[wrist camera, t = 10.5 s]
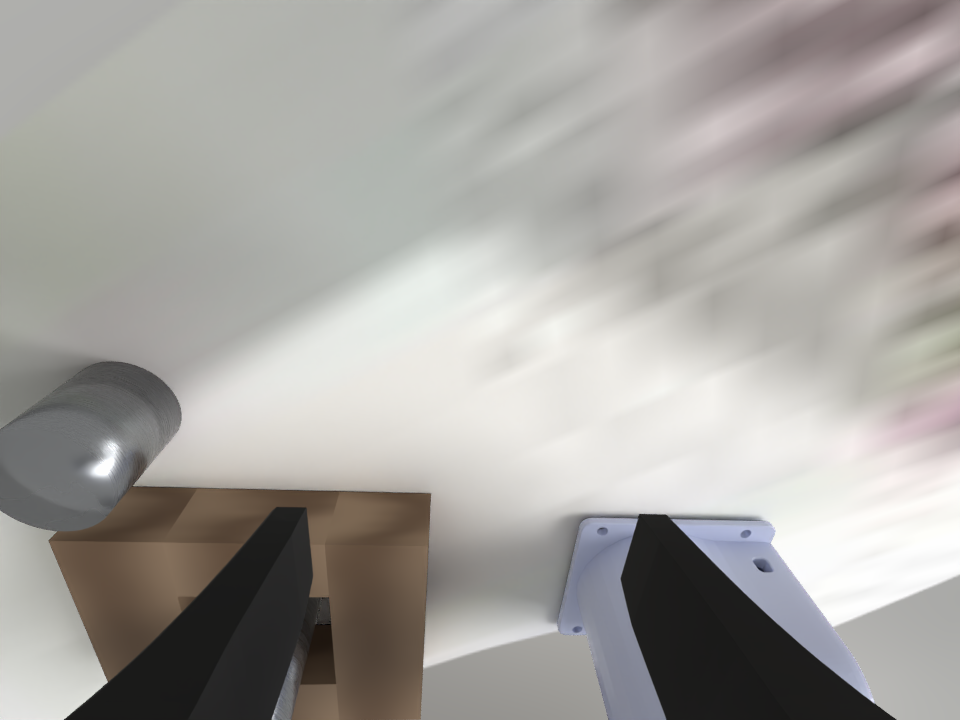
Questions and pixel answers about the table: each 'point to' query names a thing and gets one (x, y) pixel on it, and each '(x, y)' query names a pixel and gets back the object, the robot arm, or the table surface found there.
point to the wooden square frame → (336, 574)
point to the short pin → (84, 446)
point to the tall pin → (297, 663)
